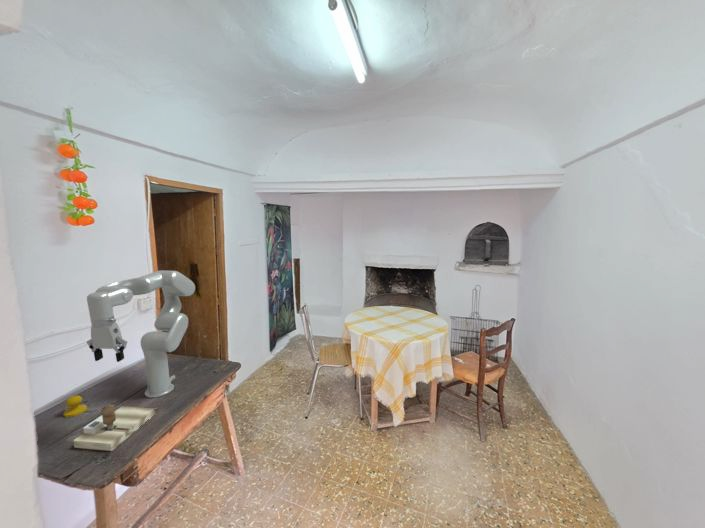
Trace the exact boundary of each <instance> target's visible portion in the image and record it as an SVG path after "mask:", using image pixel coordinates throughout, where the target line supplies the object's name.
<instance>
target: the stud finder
mask: <svg viewBox="0 0 705 528" xmlns="http://www.w3.org/2000/svg"><path fill="white" fill-rule="evenodd" d="M105 426H106V425H105V424H103V417H102V414H101V415H99V416H98V417H97V418H96V419H94V420H93V421H91V422H90V423H88V424H87V425H85V426H84V427H83V428H82V429H83V430H82V431H83V433H85V434H95V433H97V432H98V431H99V430H101V429H102V428H103V427H105Z"/></svg>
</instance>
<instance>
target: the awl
mask: <svg viewBox="0 0 705 528" xmlns="http://www.w3.org/2000/svg"><path fill="white" fill-rule="evenodd" d="M115 411H116V410H115V405H113V404H108V405H105V406H103V407H102V408H101V415H102V417H103V424H105V425H107V431H111V430H113V429H114V424H113V422H114V421H115V420H116V417H115Z"/></svg>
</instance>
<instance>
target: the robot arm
mask: <svg viewBox="0 0 705 528" xmlns="http://www.w3.org/2000/svg"><path fill="white" fill-rule="evenodd" d="M159 289H161V291H162V294H163V297H164V303H163V306H162V308H161V310H160V311H159V313H158V315H157V317H156V319H155V321H154V324H153V325H154V328H155V329H156V330H158V331H156V330H154V331H148V332H145V333H144V334H143V335H142V337H141V338H140V348H141V349H142V353H143V357H144V364H145V374H146V383H147V389H146V390H144V396H145V397H146V398H150V399H153V398H154V399H155V398H159V397H163V396H166V395H168V394H169V393H172V391H173V390H174V387H175V386H174V384H173V383H172V381H174V380H175V379H176V375H171V376H170V372H169V371H170V370H169V362H168V354H167V353H170V352H171V353H172V352H174V351H176V350H177V348H178V347H179V345H180V344H181V342H182V339H183V337H184V335H185V333H186V331H187V329H188V327H189V317H188V315H186V314H184V313H183V312H181V310H182V302H181V299H180V297H190V296H192V295H194V293H195V291H196V285H195V283H194V282H193V281H192V279H190V278H188V277H187V276H186V275H185V274H182V273H181V272H179V271H178V270H164V269H163V270H162V269H161V270H156V271H154V272H151V273H148V274H145V275H141V276H138V277H134V278H130V279H124V280H120V281H115V282H112V283H108V284H105V285H103V286H101V287H98V288H97V289H96V290H95V292H92V293H89V294H87V296H86V301H87V302H86V303H87V307H88V313H89V314H88V315H89V318H90V319H89V320H90V323H91V327H90V337H91V338H90V339H88V340H87V341H86V344H87V345H88V348H89V349H90V350H91V352H92V353H93V355H94V356H93V357H94V361H95V362H99V361H100V360H102V359H103V358H104V354H103V350H104V349H106V350H107V349H109V350H113V351H114V352H115V358H116V359H115V360H116V362H117V363H119V362H121V361H123V360H124V359H125V355H124V354H125V353H124V351H125V349H126V348H127V344H128V341H127V340H126V339H123V335H122V332H121V329H120V327H119V324H118V323H117V319H115V315H114V307H118V306H123V305H126V304H128V303H130V302H131V300H133V297H134V296H141V295H147V294H149V293H151V292H155V291H156V290H159ZM102 349H103V350H102Z"/></svg>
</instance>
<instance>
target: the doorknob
mask: <svg viewBox="0 0 705 528" xmlns="http://www.w3.org/2000/svg"><path fill="white" fill-rule="evenodd" d="M82 401H83V397H82V395H81V396H80V395H79V394H77V395H72V396H70V397H68V398H67V399H66V401H65V405H66V406H67V407H68V408H67V409H65V411H64V412H63V417H65V418H73V417H76V416H80V415H81V414H83V413H84V412H86V411H87V409H88V406H87V405H86V404H81V403H82Z"/></svg>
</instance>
